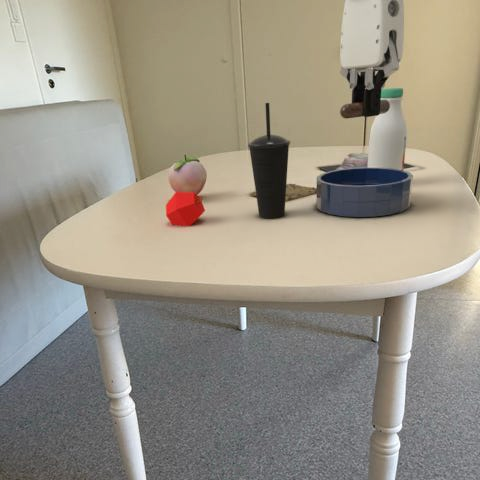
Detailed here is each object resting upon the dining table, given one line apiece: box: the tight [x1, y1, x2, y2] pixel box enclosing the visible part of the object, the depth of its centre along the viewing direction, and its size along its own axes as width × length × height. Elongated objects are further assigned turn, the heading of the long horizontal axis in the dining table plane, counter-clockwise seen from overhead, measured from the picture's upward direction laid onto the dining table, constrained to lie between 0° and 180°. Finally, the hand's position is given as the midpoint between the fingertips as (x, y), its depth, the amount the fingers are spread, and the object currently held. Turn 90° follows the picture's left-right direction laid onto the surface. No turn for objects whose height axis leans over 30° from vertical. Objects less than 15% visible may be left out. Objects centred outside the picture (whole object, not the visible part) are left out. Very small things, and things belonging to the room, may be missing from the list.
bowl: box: [316, 167, 414, 218], centre depth 86 cm, size 18×18×6 cm
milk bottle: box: [367, 87, 408, 171], centre depth 97 cm, size 8×8×20 cm
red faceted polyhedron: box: [165, 192, 206, 227], centre depth 85 cm, size 7×7×8 cm
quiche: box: [317, 152, 416, 173], centre depth 120 cm, size 21×20×4 cm
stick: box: [339, 100, 390, 119], centre depth 75 cm, size 10×2×2 cm, turn 118°
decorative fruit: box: [167, 154, 208, 196], centre depth 102 cm, size 9×8×10 cm
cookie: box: [249, 183, 317, 203], centre depth 102 cm, size 12×12×1 cm
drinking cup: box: [247, 102, 291, 220], centre depth 81 cm, size 8×8×20 cm
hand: (365, 114), depth 76 cm, fingers closed on stick, 2 cm apart
